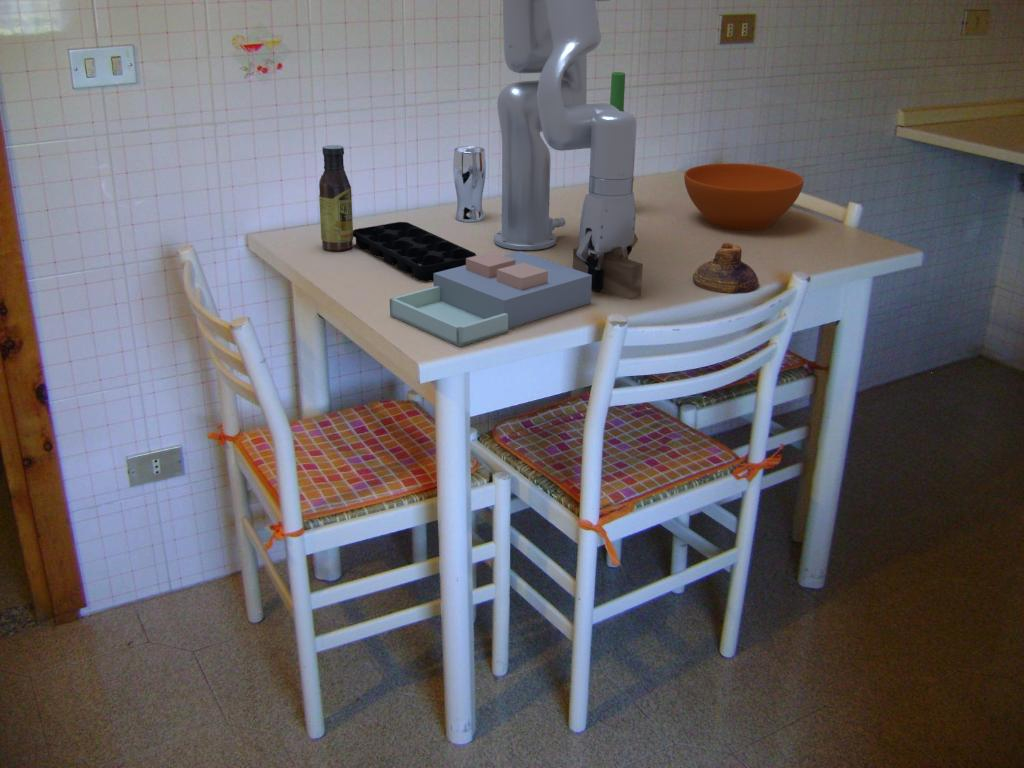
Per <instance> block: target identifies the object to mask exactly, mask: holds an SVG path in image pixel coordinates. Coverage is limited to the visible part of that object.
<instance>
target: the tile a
mask: <svg viewBox="0 0 1024 768" xmlns="http://www.w3.org/2000/svg"><path fill="white" fill-rule="evenodd" d="M512 265H515V259H512V258H509V257H506V256H503V254H500V253H496V252H494V251H490V252H487V253H482V254H478V255H476V256H474V257H470V258H466V270H468V271H471V272H474V273H476V274H479V275H482V276H484V277H487V278H491V277H495V276H497V269H501V268H505V267H508V266H512Z"/></svg>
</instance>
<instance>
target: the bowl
mask: <svg viewBox="0 0 1024 768" xmlns="http://www.w3.org/2000/svg"><path fill="white" fill-rule="evenodd" d="M683 180H684V184H685V185H684V186H685V189H686V192H687V194H688V196H689V198H690V200H691V201H692V203H693V205H694V206H695V207H696V208H697V210H698V212H699V213H701V215H702V216H703V217H704V218H705V219H706V221H707V222H708V223H709V224H711V225H713V226H716V227H719V228H724V229H729V230H736V231H737V230H738V231H752V230H753V231H754V230H755V231H756V230H763V229H766V228H769V227H770V226H772V225H773V223H775V222H776V221H777V220H778V219H779V218H781V217H782V216H783V215H784V214H785V213H786V212H788V211H789V209H791V207H792V206H793V205H794V204H795V202H796V201H797V200H798V198H799V196H800V194H801V192H802V189H803V188H804V182H805V181H804V179H803V177H802V176H801V175H800V174H798V173H796V172H794V171H790V170H787V169H784V168H780V167H779V168H778V167H774V166H769V165H768V166H767V165H760V164H752V163H710V164H702V165H697V166H694V167H691V168H688V169H687V170H686V171H685V172H684V177H683Z"/></svg>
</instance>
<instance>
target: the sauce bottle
mask: <svg viewBox="0 0 1024 768" xmlns="http://www.w3.org/2000/svg"><path fill="white" fill-rule="evenodd" d="M344 154H345V149H344V146H343V145H339V144H330V145H324V146H322V155H323V165H324V166H323V169H324V171H323V173H322V174H321V176H320V178H319V181H318V182H319V184H318V189H319V190H318V191H319V195H318V196H319V197H318V200H319V218H320V221H319V223H320V238H321V240H322V242H321V244H322V247H323V249H324V250H327V251H333V252H334V251H335V252H339V251H346V250H348V249H349V250H350V249H351V248H352V247H353V243H354V242H353V240H354V237H353V230H354V225H353V224H354V223H353V220H354V219H353V201H352V200H353V199H352V198H353V197H352V187H351V184H350V181H349V179H348V175H347V173H346V171H345V165H344Z"/></svg>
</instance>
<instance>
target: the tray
mask: <svg viewBox="0 0 1024 768" xmlns="http://www.w3.org/2000/svg"><path fill="white" fill-rule="evenodd" d="M389 316H390V317H392V318H394V319H396V320H399V321H401V322H403V323H405V324H408V325H409V326H412V327H413V328H414V327H415V328H416V329H419V330H420V331H423V332H425V333H428V334H430V335H432V336H434V337H437V338H438V339H441V340H444V341H445V342H448V343H450V344H452V345H455V346H456V347H459V348H460V347H461V348H462V347H464V346H467V345H470V344H473V343H477V342H480V341H484V340H486V339H490V338H492V337H496V336H498V335H502V334H505V333H508V332H509V329H508V314H507V313H503V314H500V315H497V316H493V317H490V318H487V319H483V318H480V317H478V316H476V315H473V314H471V313H468V312H466V311H463V310H461V309H459V308H456V307H454V306H451V305H449V304H447V303H444V302H442V301H440V287H439V286H435V287H434V286H431V287H429V288H425V289H420V290H416V291H413V292H409V293H405V294H402V295H398V296H394V297H390V298H389Z"/></svg>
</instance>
